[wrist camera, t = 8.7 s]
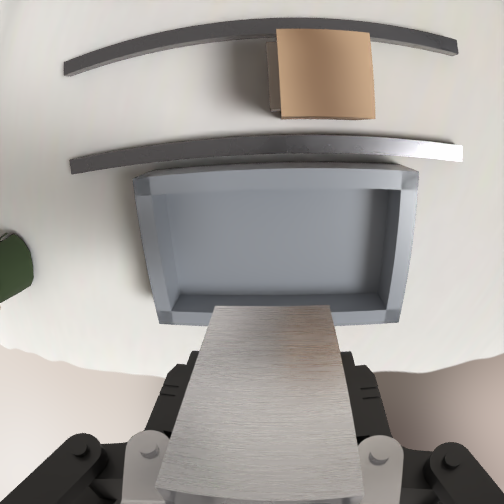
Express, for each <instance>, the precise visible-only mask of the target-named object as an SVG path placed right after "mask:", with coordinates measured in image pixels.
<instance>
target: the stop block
mask: <svg viewBox="0 0 504 504" xmlns="http://www.w3.org/2000/svg"><path fill="white" fill-rule="evenodd" d="M155 488H156V489H157V491H158V492H159V493H160V495H161V496H162V497H163V499H164V500H167V501H173V502H174V503H175V504H359V503H360V501H361V500H362V498H363V497H364V495H365V494H364V486H363V479H362V472H361V465H360V458H359V452H358V445H357V439H356V433H355V427H354V421H353V416H352V410H351V405H350V399H349V394H348V389H347V384H346V379H345V374H344V369H343V364H342V359H341V355H340V350H339V345H338V341H337V336H336V332H335V327H334V323H333V319H332V314H331V310H330V306H329V305H314V306H215V308H214V311H213V314H212V316H211V319H210V322H209V325H208V328H207V331H206V334H205V337H204V340H203V342H202V345H201V348H200V351H199V354H198V357H197V360H196V363H195V366H194V369H193V372H192V375H191V378H190V381H189V383H188V386H187V389H186V392H185V395H184V398H183V401H182V404H181V407H180V410H179V413H178V416H177V419H176V422H175V425H174V428H173V432H172V435H171V438H170V441H169V444H168V447H167V450H166V453H165V456H164V459H163V462H162V465H161V468H160V472H159V475H158V478H157V481H156V484H155Z"/></svg>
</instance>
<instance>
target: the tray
mask: <svg viewBox="0 0 504 504" xmlns="http://www.w3.org/2000/svg"><path fill="white" fill-rule="evenodd" d="M418 180H419V172H418V171H416V170H413V169H411V168H408V167H405V166H403V165H400V164H384V163H359V162H270V163H244V164H225V165H209V166H196V167H184V168H173V169H163V170H153V171H150V172H148V173H145V174H143V175H140V176H138V177H136V178H133V186H134V193H135V200H136V207H137V214H138V220H139V226H140V232H141V238H142V244H143V249H144V255H145V260H146V265H147V270H148V275H149V280H150V284H151V289H152V294H153V298H154V303H155V307H156V311H157V315H158V320H159V324H172V325H192V326H208V325H209V322H210V319H211V316H212V314H213V311H214V308H215V306H314V305H329V306H330V310H331V314H332V319H333V323H334V326H346V325H366V324H383V323H397V322H399V317H400V313H401V308H402V303H403V298H404V293H405V288H406V282H407V277H408V271H409V264H410V258H411V251H412V244H413V236H414V227H415V218H416V207H417V195H418Z"/></svg>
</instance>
